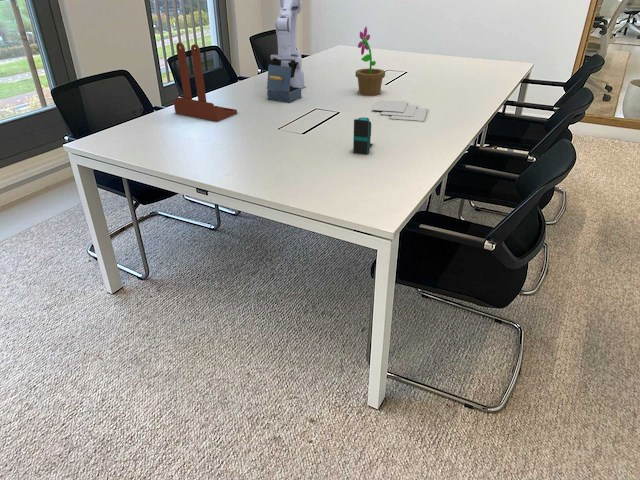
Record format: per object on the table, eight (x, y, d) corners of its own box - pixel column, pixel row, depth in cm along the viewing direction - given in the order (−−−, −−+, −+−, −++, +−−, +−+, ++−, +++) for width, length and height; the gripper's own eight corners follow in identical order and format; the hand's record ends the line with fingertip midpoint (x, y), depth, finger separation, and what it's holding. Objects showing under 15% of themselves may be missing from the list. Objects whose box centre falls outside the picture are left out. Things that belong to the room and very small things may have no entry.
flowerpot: (363, 88, 252) (365, 24, 236) (388, 91, 245) (392, 26, 230) (349, 94, 241) (351, 28, 226) (376, 98, 235) (379, 30, 219)
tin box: (280, 94, 244) (279, 85, 241) (301, 97, 238) (301, 87, 236) (267, 99, 236) (267, 89, 234) (289, 102, 231) (289, 93, 228)
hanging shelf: (237, 113, 217) (230, 41, 201) (217, 121, 207) (208, 46, 192) (195, 106, 228) (186, 36, 212) (175, 113, 218) (163, 41, 202)
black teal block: (376, 112, 175) (369, 121, 167) (375, 144, 182) (368, 154, 174) (361, 111, 177) (353, 119, 169) (360, 143, 183) (352, 152, 175)
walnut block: (285, 94, 240) (284, 84, 238) (292, 95, 239) (292, 85, 236) (280, 96, 237) (279, 86, 235) (287, 97, 235) (287, 87, 233)
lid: (269, 64, 230) (264, 64, 227) (291, 67, 225) (286, 66, 221) (267, 89, 234) (262, 89, 230) (289, 92, 228) (284, 92, 225)
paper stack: (429, 104, 225) (429, 102, 225) (423, 121, 204) (423, 119, 204) (378, 101, 231) (378, 99, 230) (368, 117, 210) (368, 115, 210)
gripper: (266, 46, 226) (268, 76, 233) (292, 48, 220) (293, 80, 227) (274, 43, 231) (276, 73, 238) (301, 46, 225) (301, 76, 232)
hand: (285, 76), depth 233 cm, fingers open, 7 cm apart
